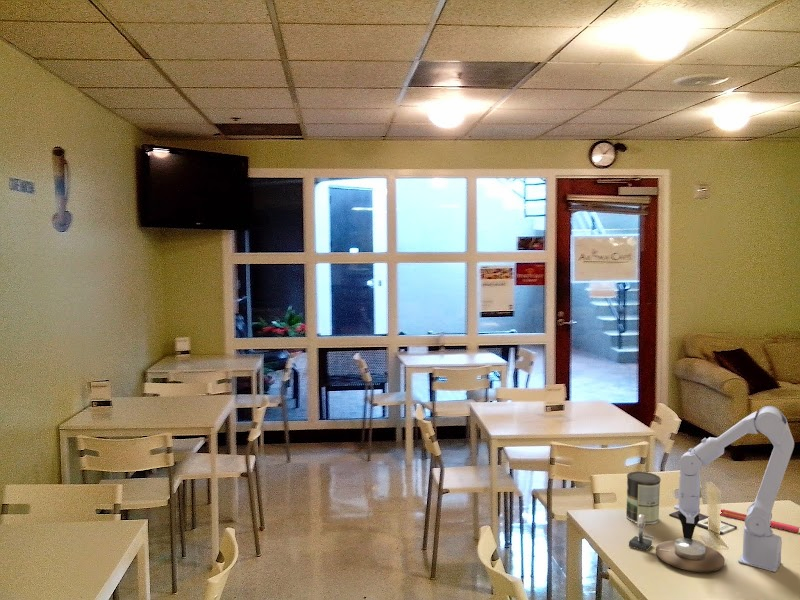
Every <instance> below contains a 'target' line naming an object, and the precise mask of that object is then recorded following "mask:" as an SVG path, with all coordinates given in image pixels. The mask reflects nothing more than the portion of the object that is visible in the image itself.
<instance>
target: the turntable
mask: <svg viewBox="0 0 800 600" xmlns="http://www.w3.org/2000/svg"><path fill="white" fill-rule="evenodd" d="M675 540H676V539H674V540H667V541H666V540H665V541H662V542H660V543H657V545H656V547H655V555H656V556H657V557H658V558H659V559H660V560H661V562H664V563H666V564H668V565H670V566H672V567H674V568H678V569H682V570H686V571H691V572H696V573H697V572H699V573H701V572H702V573H708V572H710V573H711V572H715V571H719V570H721V569H722V568H723V567H724V566H725V559H726V558H724V556H723V555H722V554H723V553H721V552H719V551H718V550H716V549H714V548H712V547H710V546H707V545H705V559H703V560H700V561H691V560H686V559H683V558H680V557H678V556H677V555H676V554H675V553H674V550H675Z"/></svg>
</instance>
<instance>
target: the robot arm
mask: <svg viewBox="0 0 800 600" xmlns="http://www.w3.org/2000/svg"><path fill="white" fill-rule="evenodd" d="M759 432H760V433H761V434H762V435H764V436H765V437H766V438H768V440H769V441H770V443H771V444H772V446H773V449H772V451H771V455H770V457H769V460H768V463H767V466H766V468H765V471H764V474H763V477H762V480H761V481H760V482H761V483H760V486H759V489H758V490H757V491H758V492H757V494H756V497H755V499H754V502H752V503H751V504H750V505H749V506H748V508H747V512H746V515H747V516H746V518H745V520H744V526H743V534H742V535H743V540H742V554H741V555H740V556H739V558H738V559H737V562H738V563H741V564H744V565H747V566H752V567H754V568H760V569H763V570H766V571H770V572H773V573H777V571H778V569H779V567H780V565H781V564H782V543H783V539H782V536H780V535H777V534H775V533H774V531H773V530H772V527H770V523H771V521H772V519H773V513H772V511H773V508H774V504H775V501H776V499H777V496H778V493H779V491H780V487H781V485H782V481H783V479H784V476H785V473H786V470H787V468H788V465H789V463H790V459H791V457H792V454H793V451H794V448H795V441H794V437H793V435H792V432H791V429H790V426H789V423H788V419H787V417H786V416H785V415H784V413H782V411H781V410H780V409H779V408H777V407H776V406H773V405H766V406H763V407H761V408H760V409H759V410H758V411H757V410H756V411H754V412H752V413H749V414H748V415H747V416H746V417H744V418H743V419H740V420H739V421H738V422H736V424H734V425H733V426H731V427H730V428H729V429H727V430H726V431H725V432H723V433H722V434H720V435H719V436H718V437H711V436H709V437H708V438H706V437H704V438H703V439H701V442H700V443H699V444H697V445H696V446H694V447H690V448H689V449H688V450H687V451H686V452H684V453H683V455H681V457H680V459H679V460H678V467H679V480H678V481H679V482H678V504H674V505H673V508H674V510H676V511H679V512H678V516H679V519H678V520H679V521H680V524H681V529H682V536H683V538H688V539H693V536H694V531H695V528H696V527H697V526H696V524H697V523H698V521H699V515H698V514H699V513H700V512H701V508H700V501H701V500H700V499H701V497H700V496H701V468H702V467H705V466H708V465H709V464H711V463H712V462H714V461H715V460H717V459H718V458H719V457H721V456H722V455H724V454H725V448H726V447H728V446H729V445H731V444H732V443H735V442H736V441H737V440H739V439H740V438H742V437H744V436H745V435H747V434H752V435H759ZM700 514H701V513H700Z"/></svg>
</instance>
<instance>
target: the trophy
mask: <svg viewBox="0 0 800 600" xmlns="http://www.w3.org/2000/svg"><path fill="white" fill-rule="evenodd" d="M645 525H646V524H645V515H642V514H640V515H639V516H638V519H637V523H636V526H637V528H638V536H637V535H635V536H633V537H632V538H631V539H630V540H629V541H628V547H629V546H631V547H630V548H633V547H635V548H634V549H636V548H638V549H637V550H640V549H642V550H641V551H643V550H645V551H644V552H646V550H647V549H648V548H649V547H650V546H651V545H652V546H653V540H655V536H652V535H649V534H645V533H644V528H645ZM647 538H648V539H647ZM652 546H651V547H652ZM651 547H650V548H651ZM650 548H649V549H650ZM649 549H648V550H649Z"/></svg>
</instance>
